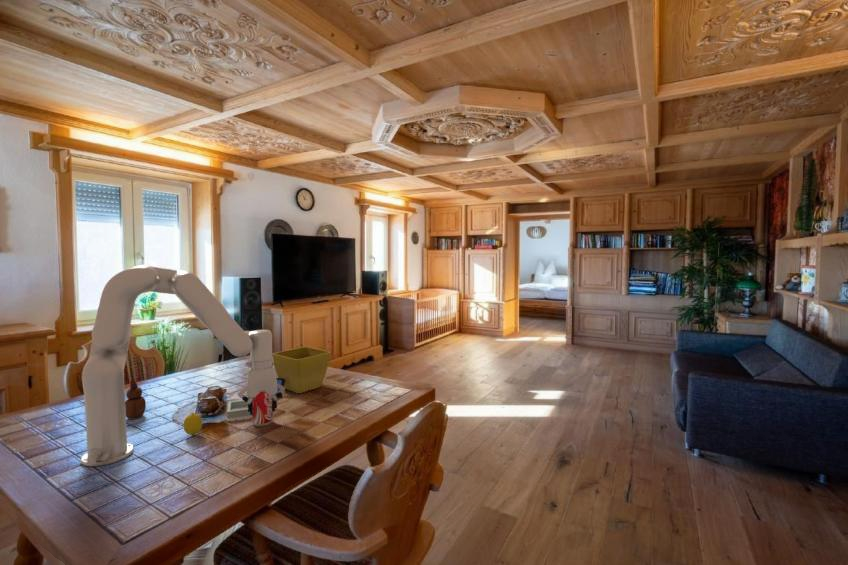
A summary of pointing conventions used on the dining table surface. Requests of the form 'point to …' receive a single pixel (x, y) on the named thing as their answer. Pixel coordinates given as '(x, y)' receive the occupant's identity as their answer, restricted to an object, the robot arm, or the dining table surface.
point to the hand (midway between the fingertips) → (262, 411)
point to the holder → (238, 410)
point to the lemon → (192, 424)
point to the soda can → (262, 409)
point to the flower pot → (301, 368)
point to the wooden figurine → (134, 402)
